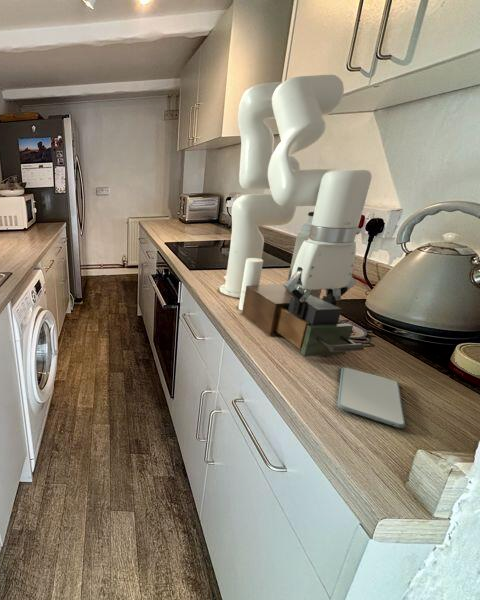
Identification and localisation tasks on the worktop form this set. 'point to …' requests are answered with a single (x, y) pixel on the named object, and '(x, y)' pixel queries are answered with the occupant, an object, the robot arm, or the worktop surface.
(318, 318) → the gray rectangular block
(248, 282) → the tube
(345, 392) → the smartphone
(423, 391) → the worktop surface
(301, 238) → the thermos bottle
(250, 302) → the cabinet
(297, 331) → the drawer
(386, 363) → the worktop surface
